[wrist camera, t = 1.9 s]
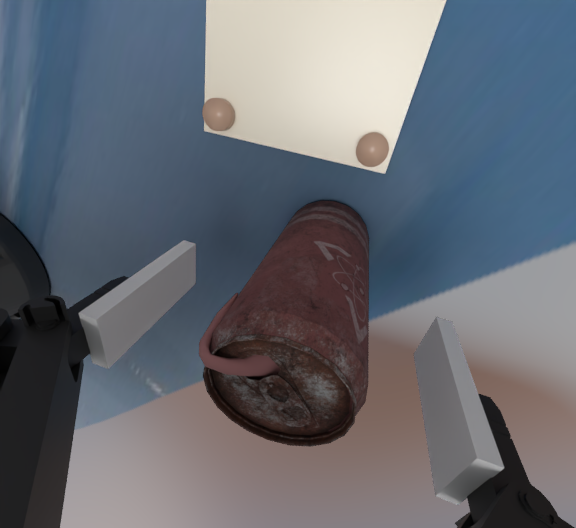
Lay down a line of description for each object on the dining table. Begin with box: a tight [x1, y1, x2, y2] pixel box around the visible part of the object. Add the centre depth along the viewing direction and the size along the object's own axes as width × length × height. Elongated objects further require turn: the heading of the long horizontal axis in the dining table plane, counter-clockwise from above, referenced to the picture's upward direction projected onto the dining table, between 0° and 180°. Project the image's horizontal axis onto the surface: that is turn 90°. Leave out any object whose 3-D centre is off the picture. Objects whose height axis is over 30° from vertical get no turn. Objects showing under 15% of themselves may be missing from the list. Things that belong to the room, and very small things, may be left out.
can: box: [199, 201, 369, 446], centre depth 15 cm, size 6×6×14 cm
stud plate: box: [203, 0, 446, 174], centre depth 15 cm, size 12×12×2 cm
